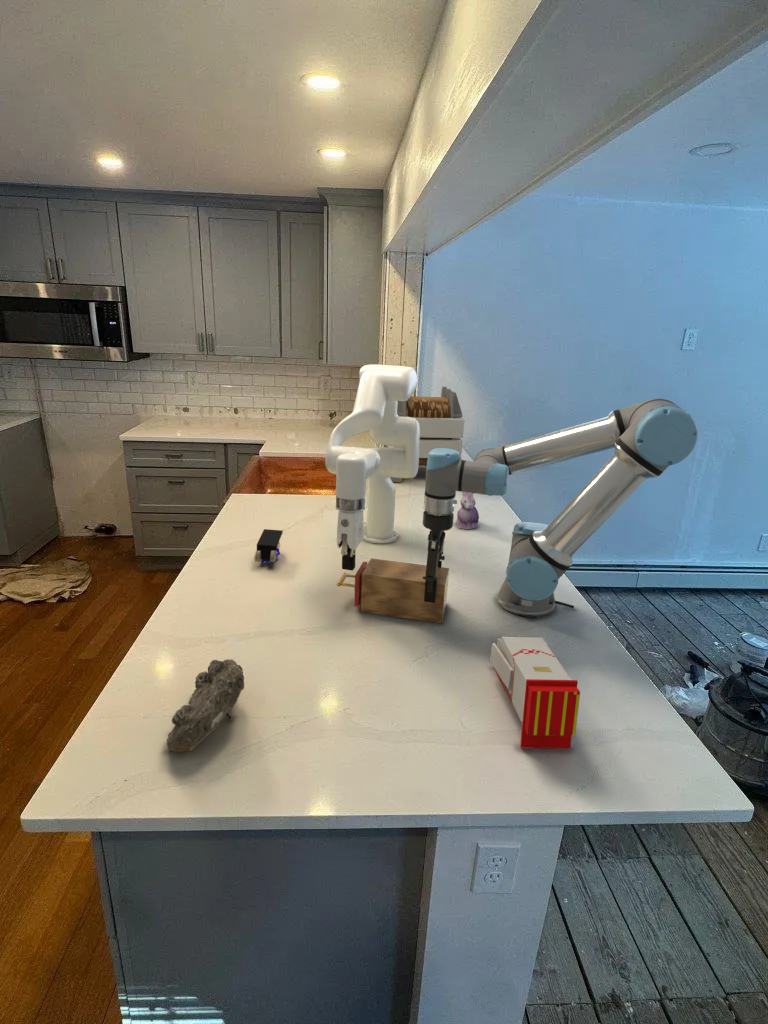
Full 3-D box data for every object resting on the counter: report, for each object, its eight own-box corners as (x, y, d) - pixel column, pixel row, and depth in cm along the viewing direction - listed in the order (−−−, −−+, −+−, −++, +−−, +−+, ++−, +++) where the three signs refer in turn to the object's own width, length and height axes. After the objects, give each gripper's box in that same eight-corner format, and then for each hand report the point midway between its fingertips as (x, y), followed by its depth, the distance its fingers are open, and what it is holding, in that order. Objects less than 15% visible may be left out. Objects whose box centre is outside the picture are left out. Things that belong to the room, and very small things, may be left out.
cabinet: (360, 611, 148) (361, 573, 144) (369, 594, 157) (370, 558, 153) (441, 623, 144) (445, 584, 140) (446, 604, 153) (449, 568, 149)
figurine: (464, 531, 204) (468, 492, 199) (448, 522, 212) (452, 484, 207) (485, 528, 208) (490, 489, 203) (469, 519, 217) (473, 481, 212)
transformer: (382, 463, 289) (386, 382, 275) (445, 464, 293) (451, 384, 279) (390, 482, 257) (394, 392, 243) (460, 483, 261) (468, 394, 247)
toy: (539, 620, 128) (589, 687, 99) (533, 674, 131) (581, 755, 102) (485, 619, 128) (521, 686, 99) (481, 673, 131) (514, 755, 101)
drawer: (335, 603, 149) (335, 572, 146) (344, 588, 157) (344, 559, 154) (430, 617, 145) (432, 585, 142) (434, 601, 153) (436, 570, 150)
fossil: (192, 660, 117) (244, 628, 112) (224, 691, 120) (276, 661, 115) (142, 746, 98) (202, 712, 93) (182, 779, 101) (242, 748, 96)
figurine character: (277, 573, 169) (284, 548, 183) (276, 551, 166) (283, 527, 179) (254, 573, 169) (263, 547, 182) (252, 551, 166) (262, 527, 179)
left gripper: (357, 513, 136) (354, 582, 142) (371, 496, 150) (368, 559, 156) (327, 509, 137) (326, 578, 143) (344, 493, 151) (342, 556, 157)
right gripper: (449, 529, 129) (441, 615, 136) (458, 499, 149) (451, 575, 157) (416, 525, 130) (410, 611, 137) (429, 496, 151) (424, 571, 158)
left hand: (348, 568), depth 150 cm, fingers closed
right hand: (432, 592), depth 147 cm, fingers closed on cabinet, 10 cm apart
